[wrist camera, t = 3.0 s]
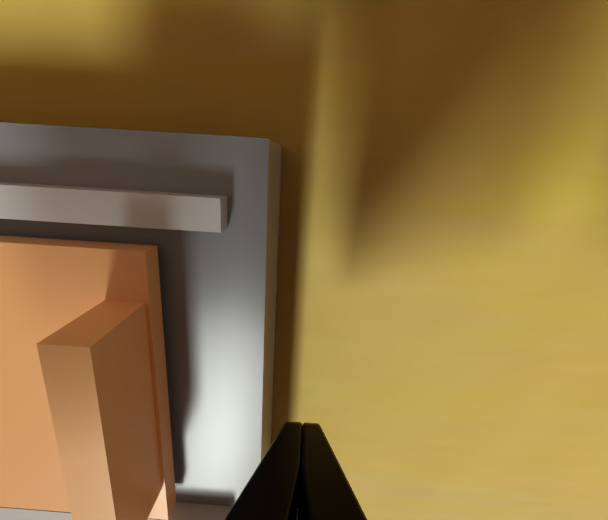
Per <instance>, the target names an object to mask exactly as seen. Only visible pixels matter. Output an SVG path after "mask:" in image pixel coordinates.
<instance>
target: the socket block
mask: <svg viewBox="0 0 608 520" xmlns="http://www.w3.org/2000/svg"><path fill="white" fill-rule="evenodd" d="M281 155H282V146H281V145H280V144H278V143H276V142H275V141H273V140H271V139H270V138H258V137H241V136H225V135H208V134H191V133H174V132H157V131H141V130H124V129H107V128H90V127H74V126H57V125H40V124H23V123H6V122H0V235H3V236H18V237H34V238H49V239H64V240H80V241H95V242H110V243H126V244H141V245H156V246H157V250H158V263H159V277H160V290H161V303H162V317H163V330H164V343H165V357H166V370H167V383H168V397H169V410H170V423H171V437H172V450H173V463H174V477H175V490H176V502H175V505H174V507H173V509H172V512H171V514H170V517H169V519H168V520H224V519H225V518H226V516H227V515H228V513H229V511H230V510H231V508H232V507H233V505H234V503H235V502H236V500H237V499H238V497H239V496H240V494H241V492H242V491H243V489H244V488H245V486H246V484H247V483H248V481H249V480H250V478H251V476H252V475H253V473H254V472H255V470H256V468H257V467H258V465H259V464H260V462H261V460H262V459H263V457H264V456H265V454H266V453H267V451H268V449H269V448H270V446H271V431H272V403H273V376H274V348H275V320H276V293H277V265H278V238H279V210H280V183H281ZM0 520H72V515H71V512H61V511H48V510H36V509H23V508H10V507H0ZM147 520H163V519H150V518H148V519H147Z"/></svg>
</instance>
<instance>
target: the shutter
mask: <svg viewBox="0 0 608 520" xmlns="http://www.w3.org/2000/svg"><path fill="white" fill-rule="evenodd" d="M175 502H176V490H175V477H174V463H173V450H172V437H171V423H170V410H169V397H168V383H167V370H166V357H165V343H164V330H163V317H162V303H161V290H160V277H159V263H158V250H157V246H156V245H141V244H126V243H110V242H95V241H80V240H64V239H49V238H34V237H18V236H3V235H0V507H10V508H23V509H36V510H48V511H61V512H71V515H72V520H147V519H148V518H150V519H163V520H168V519H169V517H170V514H171V512H172V509H173V507H174V505H175Z"/></svg>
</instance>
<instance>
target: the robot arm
mask: <svg viewBox="0 0 608 520" xmlns="http://www.w3.org/2000/svg"><path fill="white" fill-rule="evenodd" d="M297 509H298V511H297ZM224 520H367V518H366V516H365V514H364V512H363V510H362V508H361V506H360V504H359V502H358V500H357V498H356V496H355V494H354V492H353V490H352V488H351V486H350V484H349V482H348V480H347V478H346V476H345V474H344V472H343V470H342V468H341V466H340V464H339V462H338V460H337V458H336V456H335V454H334V452H333V450H332V448H331V446H330V444H329V442H328V440H327V438H326V436H325V434H324V432H323V430H322V428H321V427H320V425H319V424H317V423H304V424H303V426H302V423H300V422H286V423H285V424H284V425H283V427H282V429H281V430H280V432H279V433H278V435H277V437H276V438H275V440H274V441H273V443H272V445H271V446H270V448H269V449H268V451H267V453H266V454H265V456H264V457H263V459H262V460H261V462H260V464H259V465H258V467H257V468H256V470H255V472H254V473H253V475H252V476H251V478H250V480H249V481H248V483H247V484H246V486H245V488H244V489H243V491H242V492H241V494H240V496H239V497H238V499H237V500H236V502H235V503H234V505H233V507H232V508H231V510H230V511H229V513H228V515H227V516H226V518H225V519H224Z"/></svg>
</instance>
